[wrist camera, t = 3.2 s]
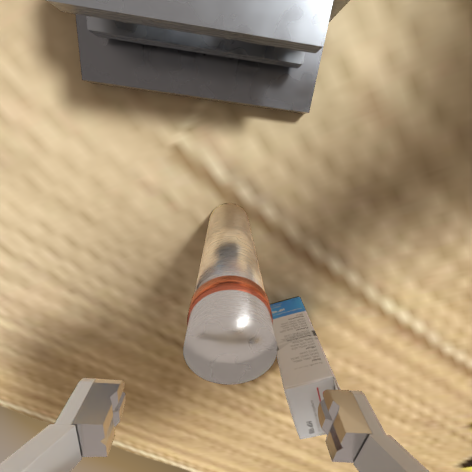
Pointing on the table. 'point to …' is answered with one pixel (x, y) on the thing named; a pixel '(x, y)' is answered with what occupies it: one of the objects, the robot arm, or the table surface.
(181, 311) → the table surface
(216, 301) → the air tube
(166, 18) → the collar stand
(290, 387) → the ink box
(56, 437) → the robot arm
